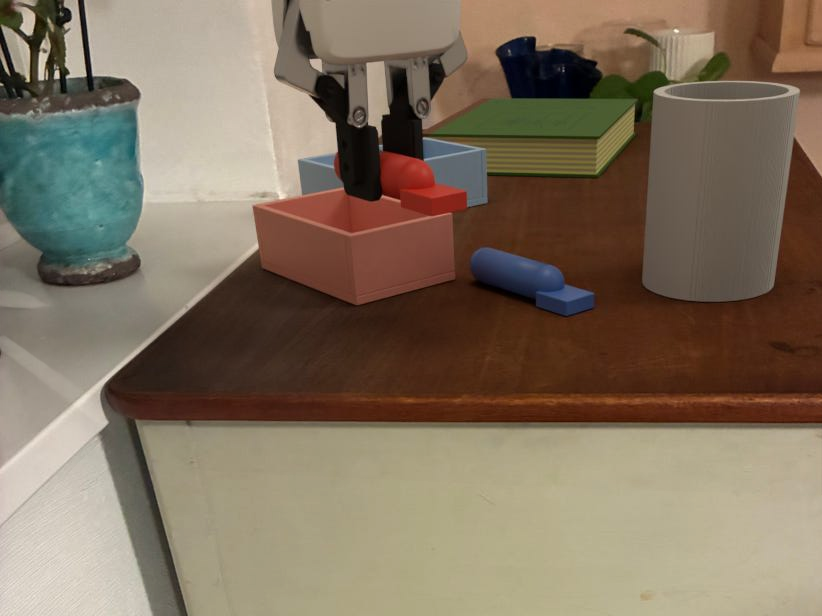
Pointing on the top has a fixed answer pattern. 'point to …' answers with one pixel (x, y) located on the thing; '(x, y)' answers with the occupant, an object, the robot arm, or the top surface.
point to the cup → (717, 188)
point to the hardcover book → (542, 134)
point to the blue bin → (444, 158)
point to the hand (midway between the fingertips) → (383, 190)
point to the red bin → (354, 245)
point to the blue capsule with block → (530, 281)
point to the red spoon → (415, 185)
